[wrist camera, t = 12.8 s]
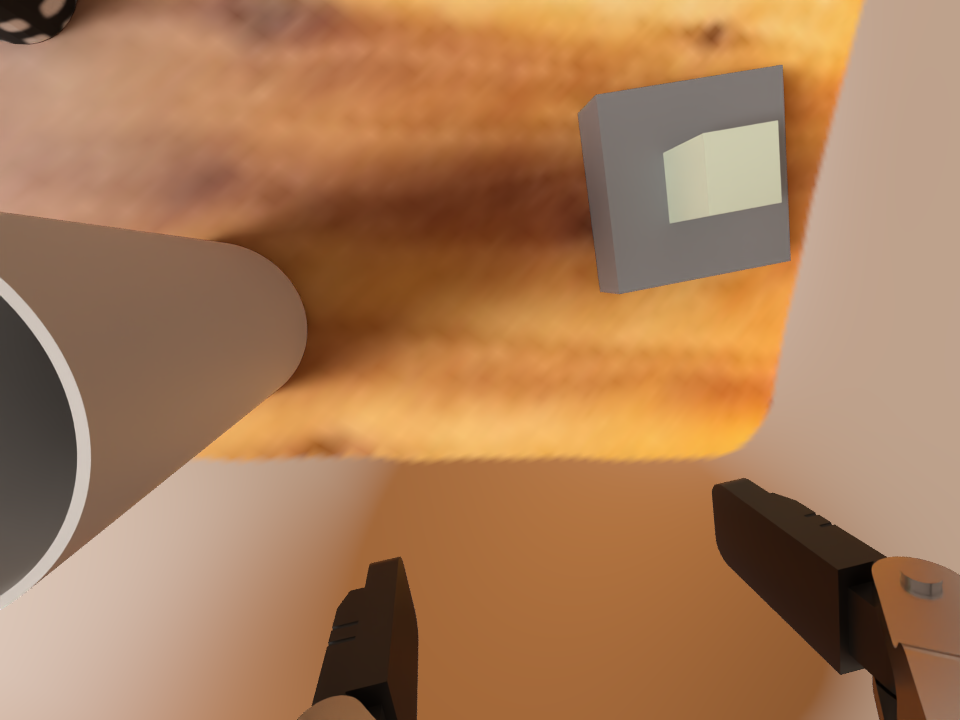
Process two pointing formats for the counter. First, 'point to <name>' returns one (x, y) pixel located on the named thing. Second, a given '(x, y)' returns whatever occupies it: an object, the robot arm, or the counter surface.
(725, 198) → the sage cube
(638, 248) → the plinth
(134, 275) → the cylinder vase
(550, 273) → the counter surface
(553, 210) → the counter surface
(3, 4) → the spotted tube
